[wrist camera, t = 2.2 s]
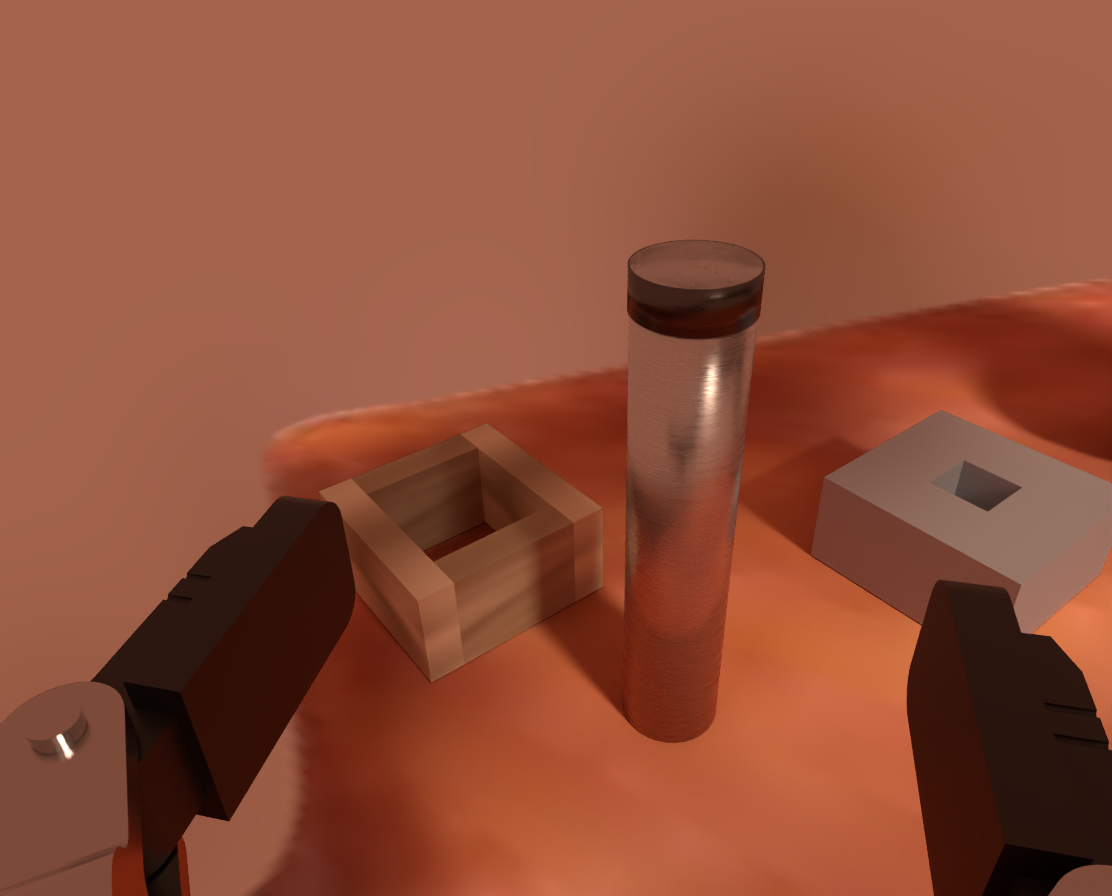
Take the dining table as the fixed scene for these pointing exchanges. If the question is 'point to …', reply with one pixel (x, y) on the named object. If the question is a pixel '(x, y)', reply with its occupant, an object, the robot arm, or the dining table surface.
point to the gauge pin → (683, 473)
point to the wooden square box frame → (479, 568)
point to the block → (964, 520)
